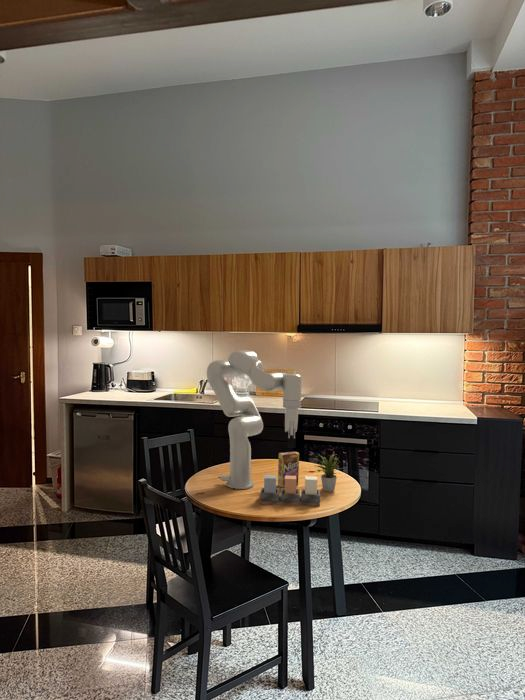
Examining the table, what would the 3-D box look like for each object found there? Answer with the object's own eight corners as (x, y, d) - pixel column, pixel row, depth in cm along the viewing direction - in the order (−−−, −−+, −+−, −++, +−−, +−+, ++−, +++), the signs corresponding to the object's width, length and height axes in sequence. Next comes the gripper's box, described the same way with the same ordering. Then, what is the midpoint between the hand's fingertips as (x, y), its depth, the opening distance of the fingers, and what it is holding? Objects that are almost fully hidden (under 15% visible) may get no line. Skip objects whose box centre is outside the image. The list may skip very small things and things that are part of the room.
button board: (260, 504, 205) (260, 494, 205) (261, 496, 215) (261, 486, 215) (320, 506, 204) (320, 496, 204) (319, 498, 214) (319, 488, 214)
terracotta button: (284, 495, 207) (284, 478, 207) (284, 491, 212) (284, 475, 212) (296, 495, 207) (296, 479, 207) (296, 492, 212) (296, 475, 211)
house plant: (316, 482, 235) (316, 448, 235) (345, 486, 231) (346, 450, 231) (309, 491, 222) (310, 455, 221) (340, 495, 218) (341, 458, 217)
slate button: (264, 494, 208) (264, 478, 207) (264, 491, 212) (264, 474, 212) (275, 495, 207) (275, 478, 207) (275, 491, 212) (276, 475, 212)
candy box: (281, 488, 227) (282, 454, 226) (277, 485, 231) (277, 452, 230) (298, 485, 230) (299, 453, 230) (294, 483, 234) (294, 450, 234)
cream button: (305, 496, 207) (305, 479, 206) (304, 492, 211) (305, 476, 211) (316, 496, 206) (317, 479, 206) (316, 492, 211) (316, 476, 211)
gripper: (283, 401, 216) (282, 443, 216) (282, 406, 201) (282, 451, 201) (300, 401, 215) (300, 444, 216) (301, 406, 200) (301, 451, 201)
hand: (291, 447), depth 209 cm, fingers closed
